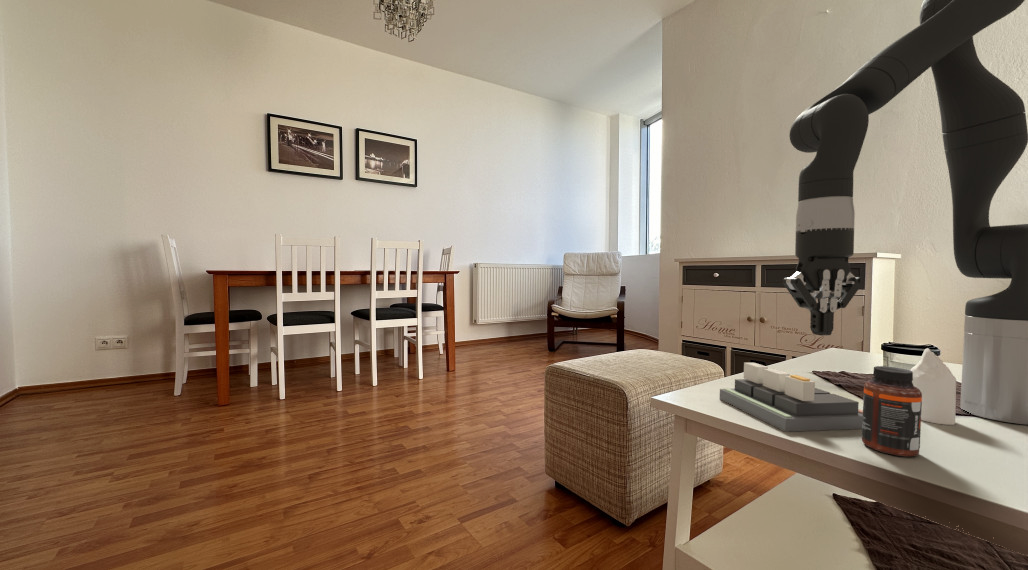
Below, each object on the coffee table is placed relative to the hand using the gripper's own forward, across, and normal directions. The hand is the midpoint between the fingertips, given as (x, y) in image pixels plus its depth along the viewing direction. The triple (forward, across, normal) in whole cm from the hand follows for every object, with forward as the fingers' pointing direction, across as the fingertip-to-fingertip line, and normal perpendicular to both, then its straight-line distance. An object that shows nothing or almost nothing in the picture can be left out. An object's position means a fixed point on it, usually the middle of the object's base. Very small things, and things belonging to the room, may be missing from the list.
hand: (821, 334), depth 66 cm
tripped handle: (+10, +4, 0) cm, 11 cm away
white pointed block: (+15, -21, 0) cm, 26 cm away
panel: (+14, +1, -5) cm, 15 cm away
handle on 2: (+10, +4, -5) cm, 12 cm away
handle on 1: (+10, +4, -10) cm, 15 cm away
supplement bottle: (+15, -1, +10) cm, 18 cm away
